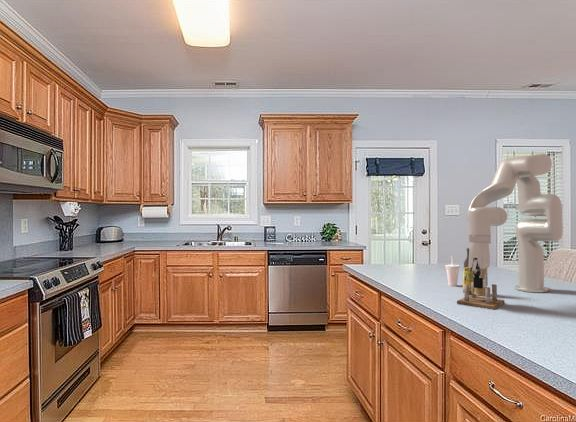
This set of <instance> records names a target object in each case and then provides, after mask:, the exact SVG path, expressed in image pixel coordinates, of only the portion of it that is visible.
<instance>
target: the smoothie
mask: <svg viewBox="0 0 576 422" xmlns="http://www.w3.org/2000/svg"><path fill="white" fill-rule="evenodd" d="M453 262H454V256H453V255H451V264H445V265H444V266H445V267H444V268H445V270H446V278H447V283H448V286H449V287H458V280H459V271H460V268H461V266H460V265H459V264H454V263H453Z"/></svg>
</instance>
